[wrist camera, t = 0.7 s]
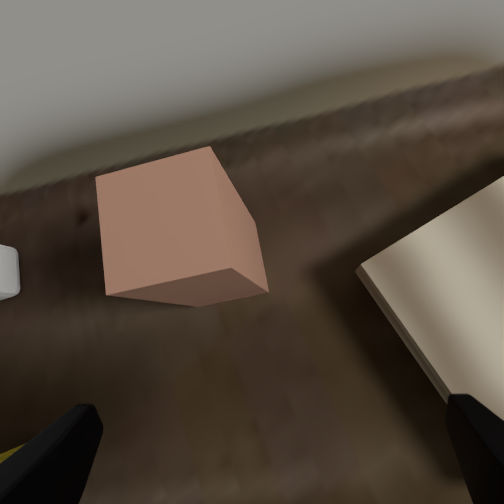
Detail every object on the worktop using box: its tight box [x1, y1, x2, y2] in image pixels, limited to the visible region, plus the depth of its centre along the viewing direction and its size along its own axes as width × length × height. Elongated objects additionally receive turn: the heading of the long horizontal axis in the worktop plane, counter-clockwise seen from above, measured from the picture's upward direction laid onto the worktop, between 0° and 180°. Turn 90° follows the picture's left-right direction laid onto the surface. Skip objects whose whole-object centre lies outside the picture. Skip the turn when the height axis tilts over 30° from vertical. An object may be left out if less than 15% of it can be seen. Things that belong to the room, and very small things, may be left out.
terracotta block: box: [96, 146, 269, 307], centre depth 19 cm, size 5×5×11 cm
